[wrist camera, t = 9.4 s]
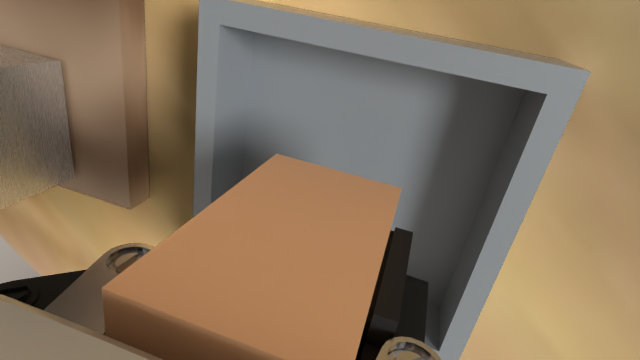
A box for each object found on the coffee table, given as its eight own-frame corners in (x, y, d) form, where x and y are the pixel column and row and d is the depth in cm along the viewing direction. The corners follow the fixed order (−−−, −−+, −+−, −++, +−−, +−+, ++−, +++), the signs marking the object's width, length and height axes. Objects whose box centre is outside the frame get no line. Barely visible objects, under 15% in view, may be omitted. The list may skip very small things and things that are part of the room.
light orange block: (276, 153, 12) (101, 288, 6) (401, 188, 11) (348, 384, 5) (260, 278, 14) (117, 474, 8) (365, 315, 14) (296, 563, 7)
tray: (247, -2, 16) (199, -6, 13) (558, 58, 14) (590, 71, 11) (228, 239, 21) (191, 277, 18) (452, 313, 19) (453, 372, 16)
